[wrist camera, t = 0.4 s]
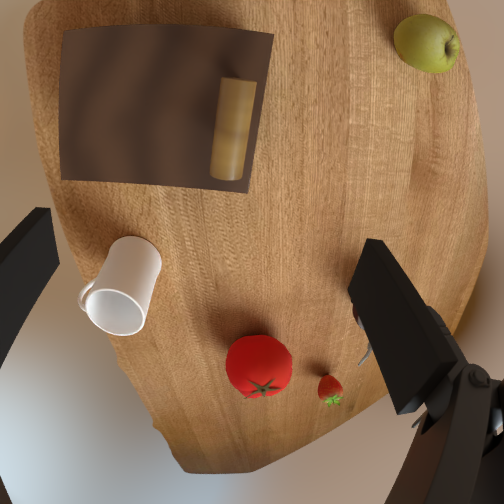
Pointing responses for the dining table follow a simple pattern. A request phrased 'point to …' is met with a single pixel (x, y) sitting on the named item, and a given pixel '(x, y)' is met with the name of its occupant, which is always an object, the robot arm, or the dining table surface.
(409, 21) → the apple
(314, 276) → the dining table surface
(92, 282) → the mug
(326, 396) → the fruit
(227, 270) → the dining table surface
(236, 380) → the tomato
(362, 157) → the dining table surface
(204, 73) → the lid
